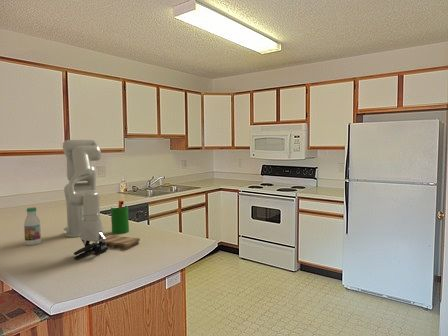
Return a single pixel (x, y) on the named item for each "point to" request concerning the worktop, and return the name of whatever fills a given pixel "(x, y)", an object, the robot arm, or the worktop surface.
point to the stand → (121, 241)
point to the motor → (120, 219)
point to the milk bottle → (32, 228)
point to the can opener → (89, 250)
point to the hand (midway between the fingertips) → (93, 252)
